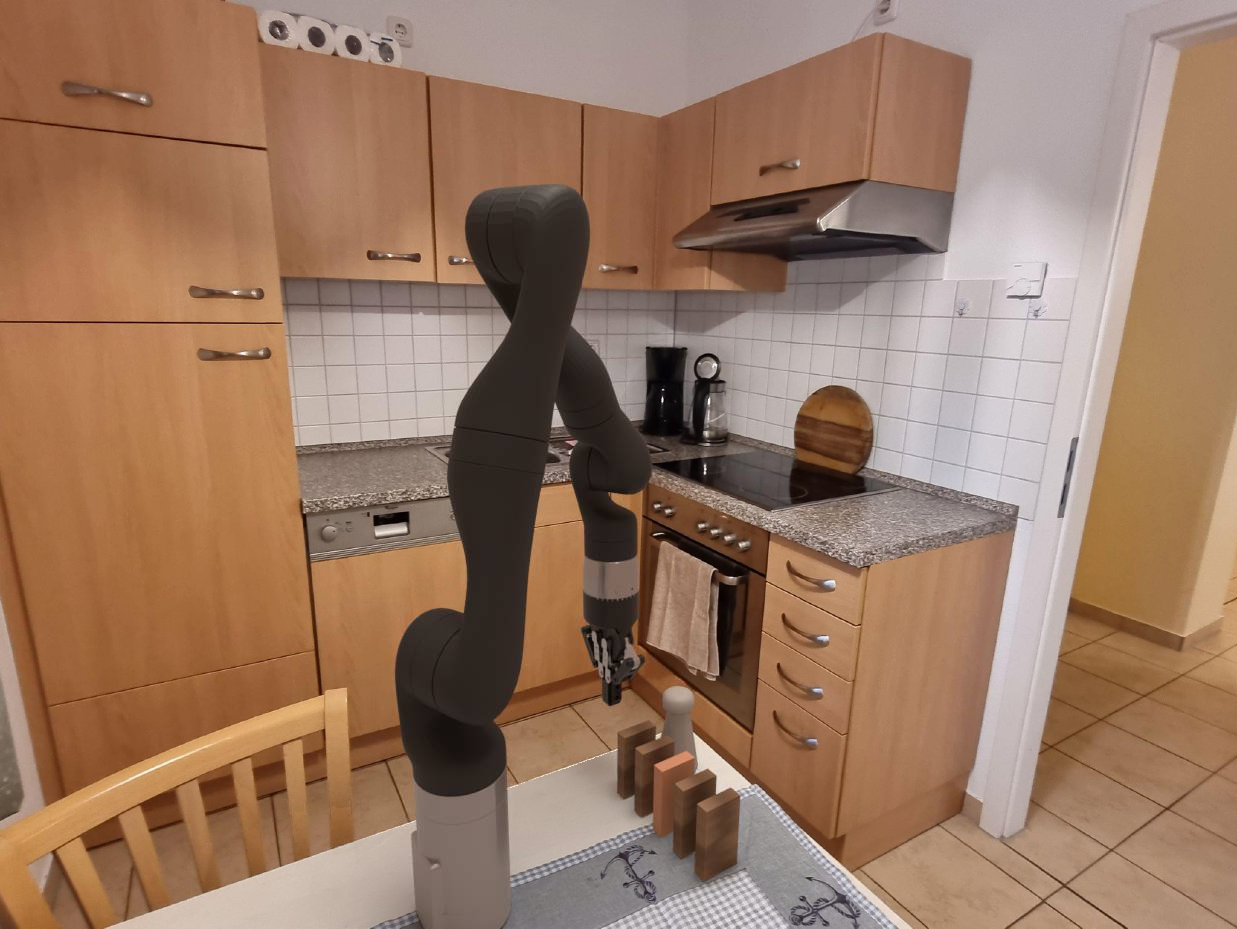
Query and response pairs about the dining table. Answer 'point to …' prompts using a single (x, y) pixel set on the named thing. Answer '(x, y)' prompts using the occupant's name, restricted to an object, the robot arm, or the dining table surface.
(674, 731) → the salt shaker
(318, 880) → the dining table surface
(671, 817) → the domino
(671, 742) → the domino
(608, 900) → the dining table surface
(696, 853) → the domino
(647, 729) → the domino
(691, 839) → the domino
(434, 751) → the robot arm
